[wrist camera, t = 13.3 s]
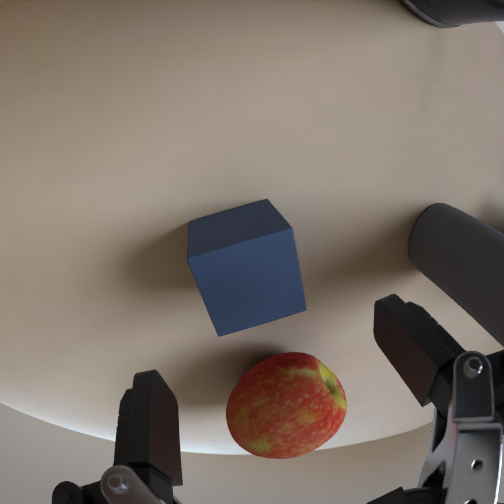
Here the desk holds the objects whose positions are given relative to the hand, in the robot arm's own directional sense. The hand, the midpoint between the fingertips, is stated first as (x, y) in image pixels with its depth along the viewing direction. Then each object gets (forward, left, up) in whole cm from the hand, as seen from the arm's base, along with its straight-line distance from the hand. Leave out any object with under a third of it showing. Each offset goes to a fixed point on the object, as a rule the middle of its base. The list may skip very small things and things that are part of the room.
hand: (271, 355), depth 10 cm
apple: (+6, +10, -9) cm, 15 cm away
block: (0, 0, -9) cm, 9 cm away
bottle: (-11, +11, -9) cm, 18 cm away
